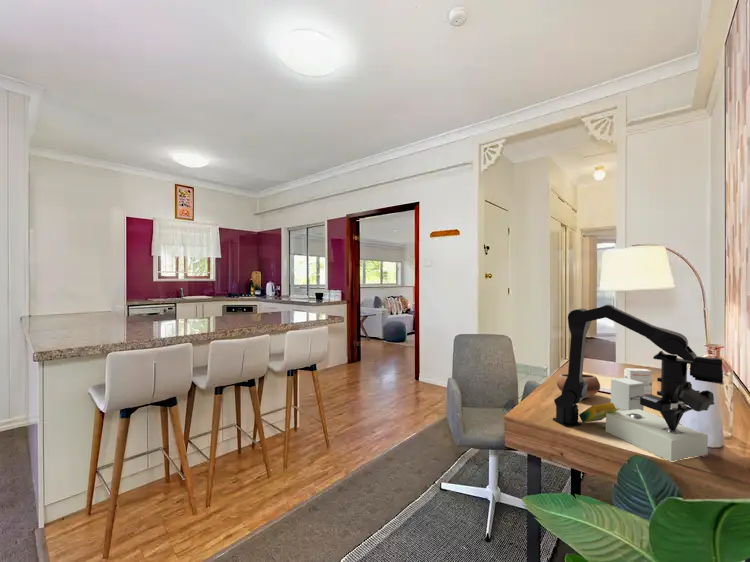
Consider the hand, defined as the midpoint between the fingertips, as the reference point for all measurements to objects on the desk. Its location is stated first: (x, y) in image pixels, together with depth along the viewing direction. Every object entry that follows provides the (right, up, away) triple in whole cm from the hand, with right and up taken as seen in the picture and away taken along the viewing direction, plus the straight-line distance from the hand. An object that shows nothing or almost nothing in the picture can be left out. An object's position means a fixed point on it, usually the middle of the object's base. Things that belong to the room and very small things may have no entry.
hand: (672, 429), depth 103 cm
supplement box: (+6, -6, +27) cm, 29 cm away
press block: (-1, -6, +5) cm, 8 cm away
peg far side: (0, -6, 0) cm, 6 cm away
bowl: (-1, -6, +46) cm, 46 cm away
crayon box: (-11, -5, +21) cm, 24 cm away
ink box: (+24, -6, +46) cm, 52 cm away
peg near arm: (-3, -6, +11) cm, 12 cm away
